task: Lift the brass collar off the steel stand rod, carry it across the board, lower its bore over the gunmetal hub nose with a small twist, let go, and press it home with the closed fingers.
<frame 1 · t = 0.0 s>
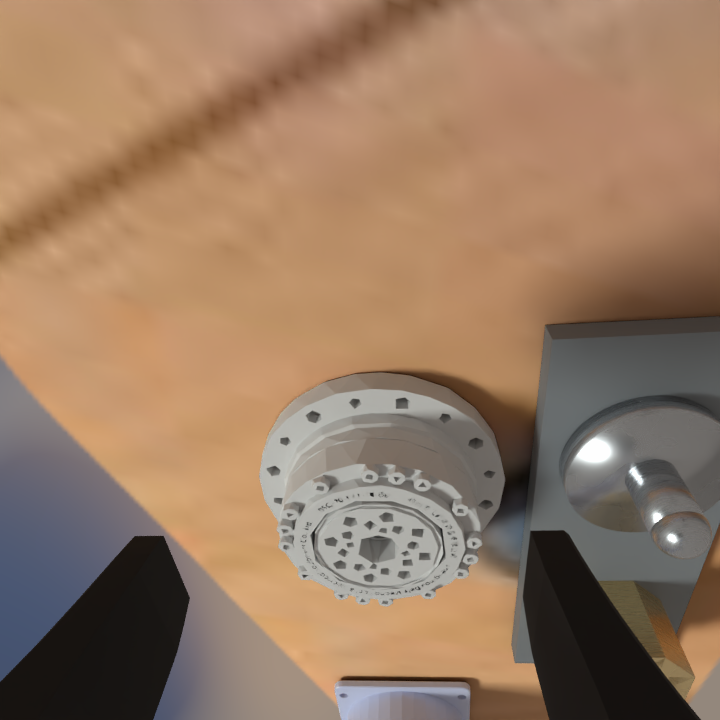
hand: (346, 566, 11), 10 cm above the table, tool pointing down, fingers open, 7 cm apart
base board: (612, 518, 24), on the table
collar: (613, 649, 25), on the base board, point 3 cm above the table
hub: (640, 458, 21), resting on base board
mechanical component: (381, 460, 23), on the table
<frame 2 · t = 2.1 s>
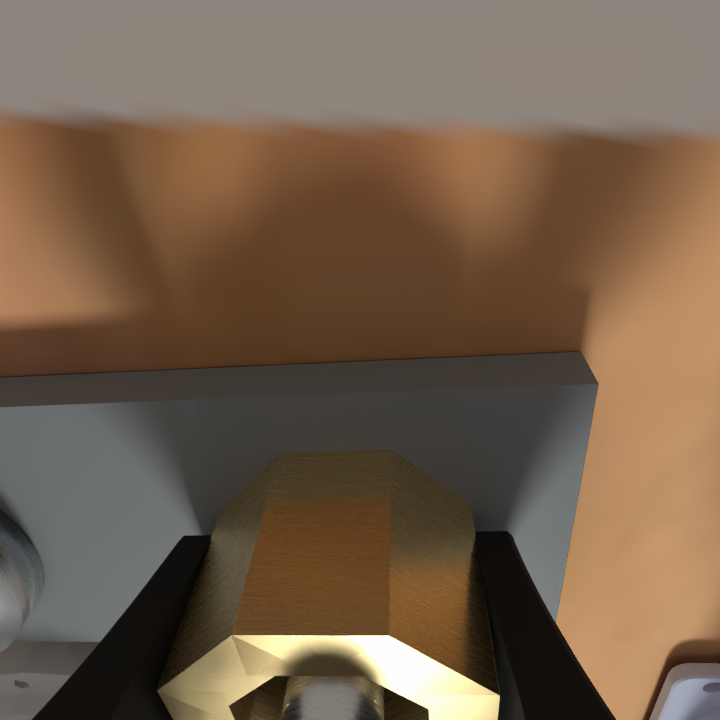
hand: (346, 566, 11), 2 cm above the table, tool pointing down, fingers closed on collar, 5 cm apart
base board: (118, 509, 13), on the table
collar: (341, 620, 10), on the base board, point 3 cm above the table, touching gripper
stand rod: (336, 671, 9), on the base board, point 4 cm above the table
mechanical component: (117, 701, 19), on the table
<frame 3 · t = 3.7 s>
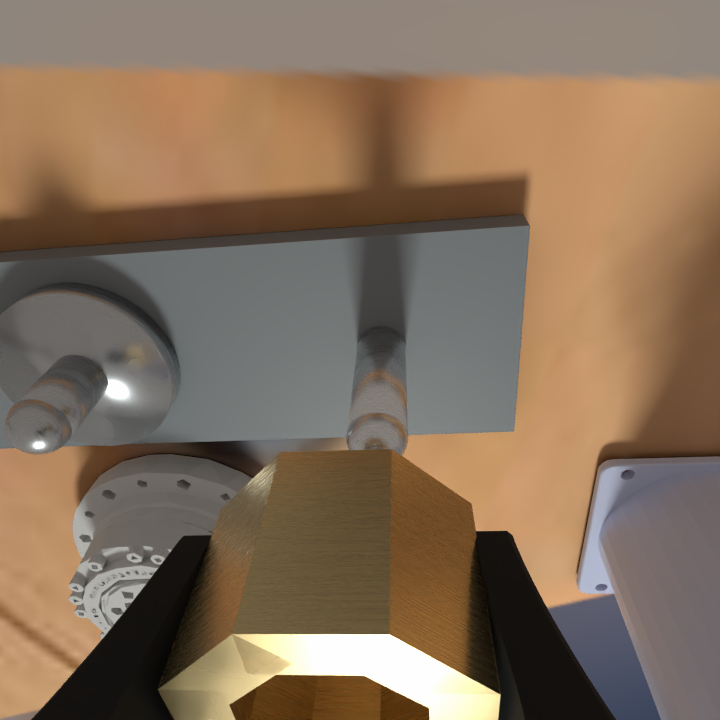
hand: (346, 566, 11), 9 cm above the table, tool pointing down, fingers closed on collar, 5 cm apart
base board: (227, 340, 19), on the table
collar: (341, 619, 10), point 11 cm above the table, touching gripper
hub: (95, 361, 19), resting on base board
stand rod: (379, 394, 16), on the base board, point 4 cm above the table
mechanical component: (196, 525, 25), on the table
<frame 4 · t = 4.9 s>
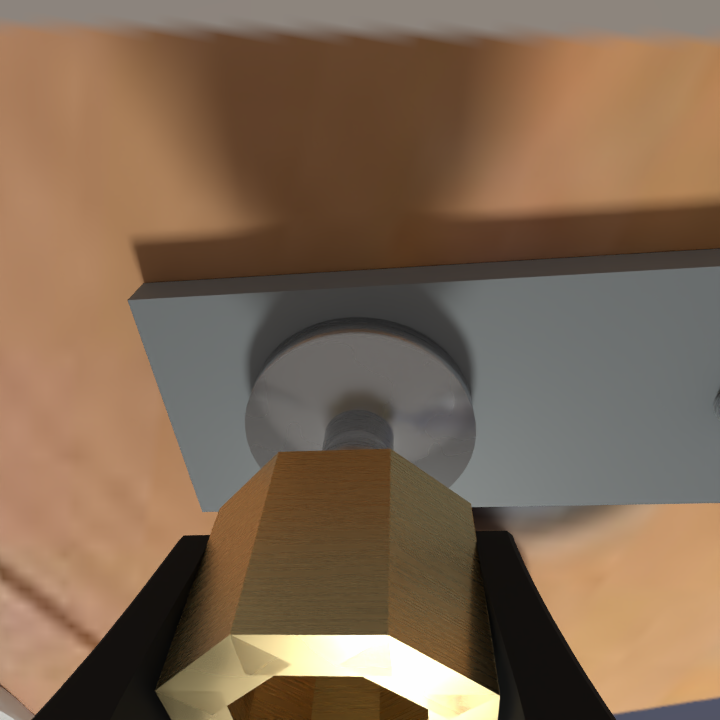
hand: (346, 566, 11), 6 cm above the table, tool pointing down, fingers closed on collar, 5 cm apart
base board: (521, 385, 15), on the table
collar: (340, 620, 10), point 7 cm above the table, touching gripper
hub: (361, 413, 15), resting on base board
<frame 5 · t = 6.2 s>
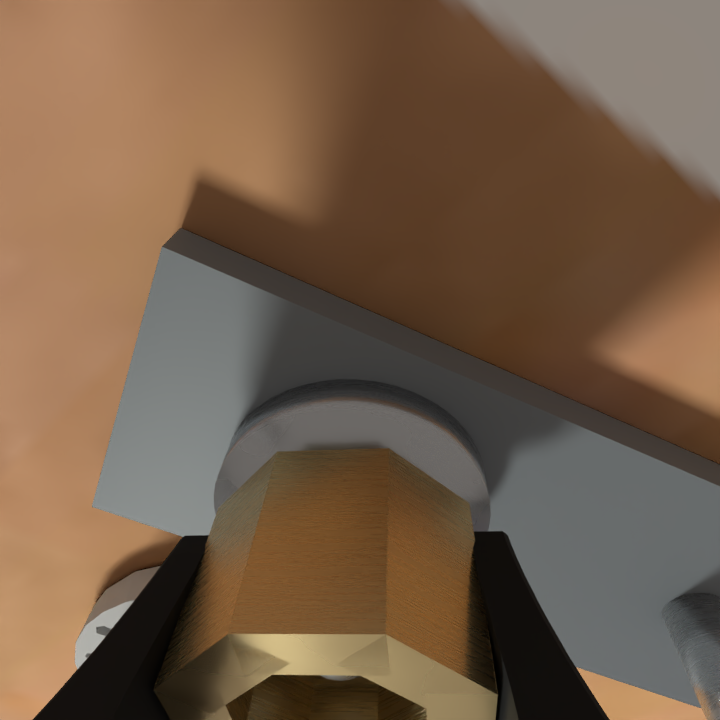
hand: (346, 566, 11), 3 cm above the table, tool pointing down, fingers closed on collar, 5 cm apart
base board: (510, 514, 14), on the table
collar: (339, 619, 10), point 4 cm above the table, touching gripper
hub: (353, 484, 13), resting on base board
mechanical component: (239, 638, 19), on the table
when the fingers open (3 cm above the table, at t = 6.6 s): collar stays where it is, resting on hub.
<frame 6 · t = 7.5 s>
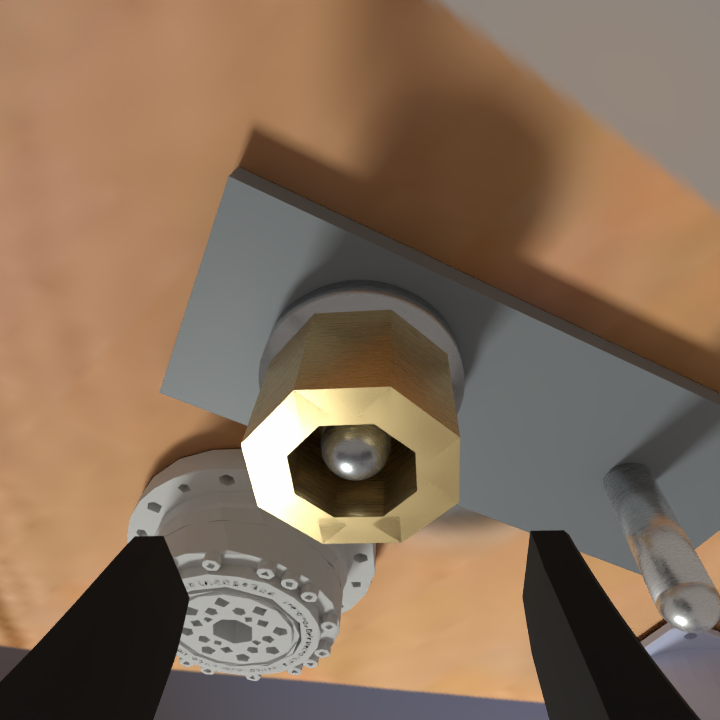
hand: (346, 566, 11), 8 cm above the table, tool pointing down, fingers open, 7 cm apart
base board: (484, 403, 18), on the table
collar: (357, 426, 14), point 4 cm above the table, touching hub
hub: (362, 369, 17), resting on base board
stand rod: (658, 544, 16), on the base board, point 4 cm above the table
mechanical component: (260, 527, 23), on the table
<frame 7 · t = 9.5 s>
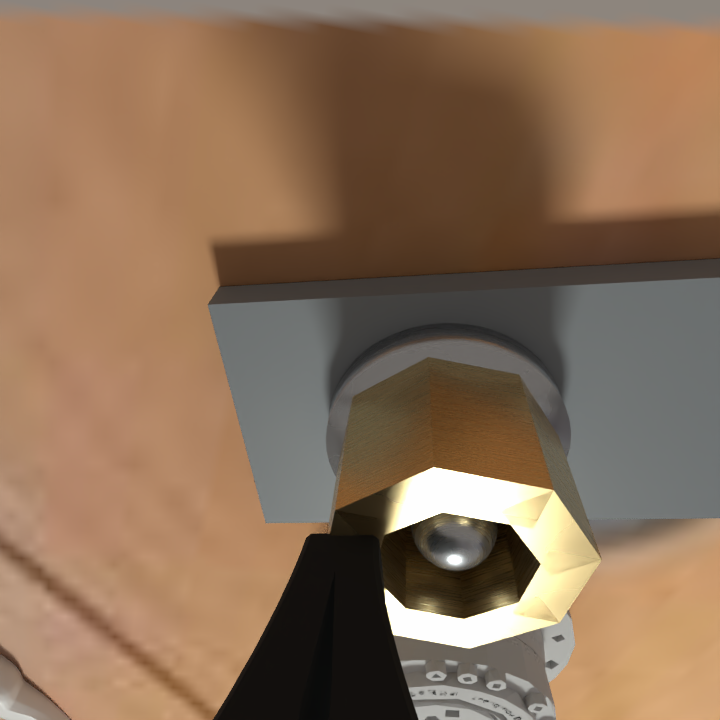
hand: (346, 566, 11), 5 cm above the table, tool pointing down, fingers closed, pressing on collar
base board: (607, 394, 15), on the table
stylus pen: (30, 681, 26), on the table
collar: (448, 501, 12), point 4 cm above the table, touching gripper, hub
hub: (443, 422, 14), resting on base board
mechanical component: (431, 605, 21), on the table
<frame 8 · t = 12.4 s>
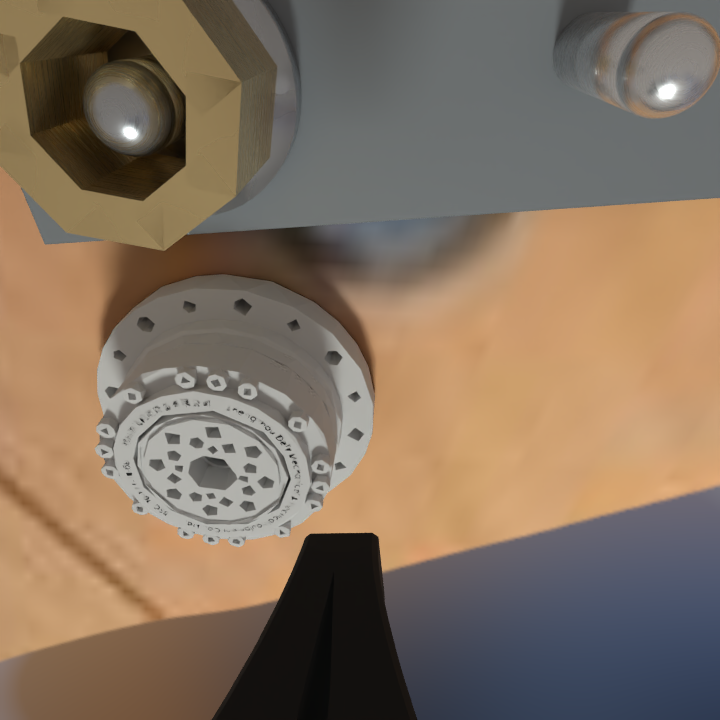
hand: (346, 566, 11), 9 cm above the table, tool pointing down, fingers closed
base board: (361, 69, 14), on the table
collar: (142, 103, 12), point 4 cm above the table, touching hub
hub: (186, 90, 14), resting on base board
stand rod: (626, 59, 11), on the base board, point 4 cm above the table
mechanical component: (246, 387, 21), on the table
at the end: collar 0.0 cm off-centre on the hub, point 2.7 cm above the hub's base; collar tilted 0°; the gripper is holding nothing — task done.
